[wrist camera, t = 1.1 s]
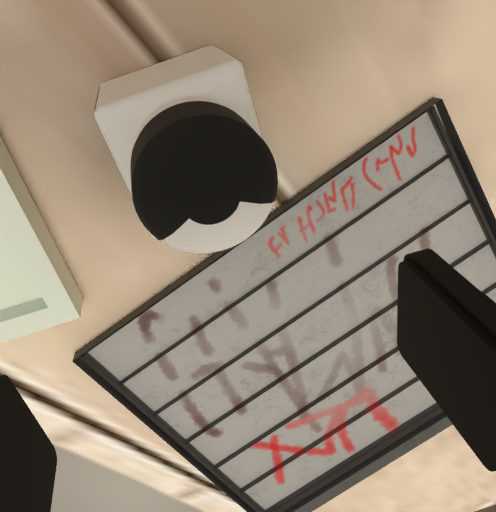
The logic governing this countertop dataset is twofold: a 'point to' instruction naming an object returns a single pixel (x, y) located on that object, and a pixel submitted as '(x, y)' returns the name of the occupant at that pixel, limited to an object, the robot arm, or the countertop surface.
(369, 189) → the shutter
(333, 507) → the countertop surface
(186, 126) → the medicine bottle
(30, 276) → the pale green square tray
